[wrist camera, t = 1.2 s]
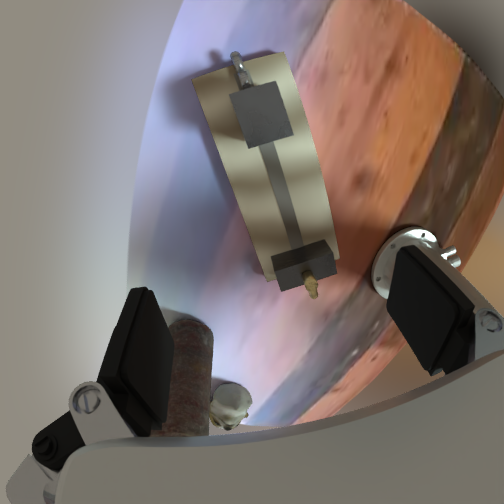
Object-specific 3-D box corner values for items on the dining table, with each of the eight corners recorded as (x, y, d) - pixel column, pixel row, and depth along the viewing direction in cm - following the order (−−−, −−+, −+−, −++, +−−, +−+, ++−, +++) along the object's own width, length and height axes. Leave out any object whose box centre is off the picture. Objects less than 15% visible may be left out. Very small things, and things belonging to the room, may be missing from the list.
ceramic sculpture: (267, 419, 41) (242, 443, 49) (264, 380, 49) (242, 411, 56) (206, 413, 39) (193, 438, 47) (209, 372, 47) (196, 404, 54)
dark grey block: (214, 58, 23) (210, 45, 17) (252, 47, 22) (257, 31, 17) (245, 142, 27) (248, 149, 22) (282, 130, 27) (293, 135, 21)
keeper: (270, 256, 34) (276, 282, 29) (324, 238, 33) (339, 262, 28) (279, 282, 36) (286, 309, 31) (330, 265, 35) (344, 290, 30)
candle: (170, 308, 39) (144, 431, 21) (218, 318, 40) (215, 443, 23) (165, 341, 42) (145, 452, 25) (209, 350, 44) (204, 462, 26)
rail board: (193, 81, 25) (191, 79, 24) (281, 54, 24) (284, 51, 23) (265, 275, 37) (267, 282, 36) (336, 252, 36) (340, 258, 35)
